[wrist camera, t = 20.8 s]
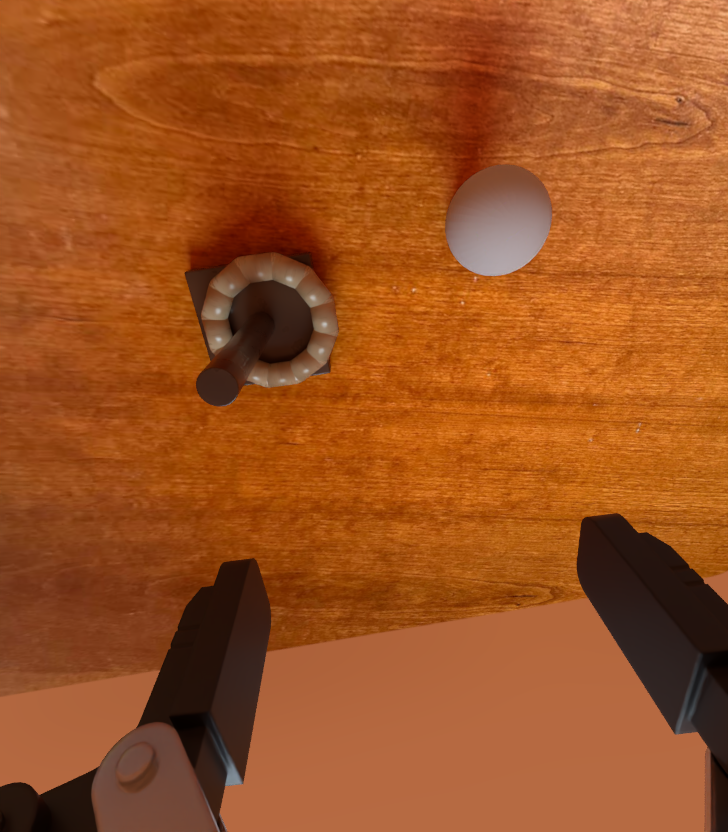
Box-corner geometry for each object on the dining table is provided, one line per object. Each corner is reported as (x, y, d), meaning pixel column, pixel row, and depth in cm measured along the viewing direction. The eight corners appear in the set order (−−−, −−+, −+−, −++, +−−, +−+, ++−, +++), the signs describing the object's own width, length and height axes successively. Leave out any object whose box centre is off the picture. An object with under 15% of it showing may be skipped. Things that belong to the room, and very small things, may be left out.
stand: (190, 269, 32) (86, 306, 19) (310, 251, 32) (290, 276, 19) (223, 382, 36) (156, 479, 23) (330, 367, 36) (326, 454, 23)
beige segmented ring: (190, 262, 30) (182, 265, 29) (325, 243, 30) (325, 245, 29) (226, 389, 34) (220, 397, 33) (345, 372, 34) (346, 380, 33)
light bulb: (521, 213, 32) (595, 211, 22) (467, 280, 33) (515, 304, 24) (462, 156, 30) (516, 129, 21) (408, 230, 32) (436, 235, 23)
